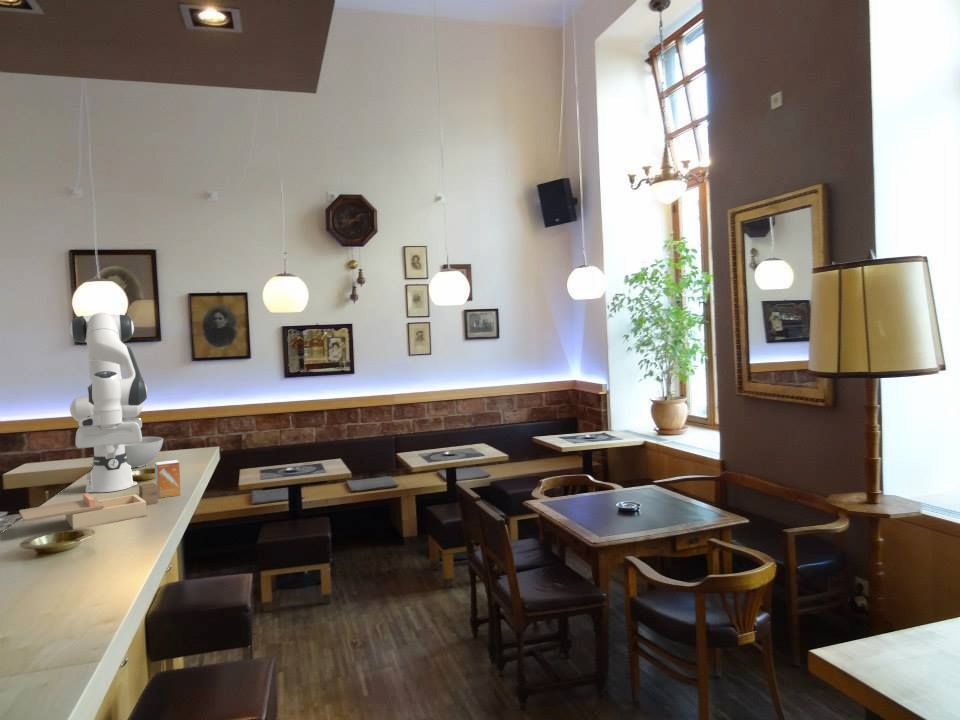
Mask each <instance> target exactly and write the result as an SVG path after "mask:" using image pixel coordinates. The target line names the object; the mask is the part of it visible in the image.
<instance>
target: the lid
mask: <svg viewBox="0 0 960 720" xmlns="http://www.w3.org/2000/svg"><path fill="white" fill-rule="evenodd" d="M98 500H99V499H97V498H96V497H94V496H93V495H91V494H90V492H89V493H86V492H85V493H82V499H79V500H78V499H77V500H75V501H74V500H73V501H68V502H61V503H60V502H59V503H55V504H54V503H53V504H50V505H49V504H48V505H42V506H37V507H31V508H25V509H24V508H23V509H19V511H18V512H19V515H20V517H21V519H22V520H23V522H24V523H25V522H26V523H27V522H32V521H37V520H43V519H44V520H45V519H49V518H54V517H60V516H66V515H67V514H73V513H79V512H84V511H90V510H96V509H102V508H104V506H103V505H102V504H101V503H100V502H99V501H98Z"/></svg>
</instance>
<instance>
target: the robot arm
mask: <svg viewBox="0 0 960 720" xmlns="http://www.w3.org/2000/svg"><path fill="white" fill-rule="evenodd" d="M134 331H135V326H134V322H133V320H132V319H131V317H130V316H129V315H125V314H110V313H106V312H96V313H94V314H93V315H85V316H84V315H80V316H75V317H74V318H72V319H71V322H70V325H69V333H70V335H71V338H72V339H73V340H74V342H76V343H81V344H83V343H84V344H85V343H86V346H87V350H88V371H89V378H90V380H91V382H92V383H91V384H89V386H87V392H88V393H87V395H83V396H79V397H75V398H74V399H73V400H72V402H71V403H70V407H69V411H70V415H71V417H72V418H73V419H74V420H75V421H76V422H78V428H77V430H76V433H75V440H74V441H75V447H76V448H78V449H85V448H87V449H88V448H93V456H92V457H93V458H92V462H93V463H92V464H93V468H91V470H90V473H87V474H86V478H87V480H89V481H88V483H86V485H85V486H86V487H85V493H89V494H90V493H108V492H109V493H110V492H117V491H122V490H126V489H130V488H132V487H133V486H137V485H138V482H137V481H134V480H133V471H132V470H133V469H131V466H130V465H129V464H127V462H126V461H127V455H126V452H125V444H132V443H140V442H141V441H142V437H143V434H142V430H141V429H142V427H143V420H142V419H141V418H140V417H138V416H139V415H140V414H141V413H142V411H143V406H144V405H143V403H144V402H145V401H146V400H148V399H147V397H148V387H147V384H146V383H145V380H144V378H143V376H142V374H141V371H140V369H139V366H138V363H137V360H136V358H135V355H134V352H133V350H132V349H131V347H130V346H129V345H127V344H125V343H124V342H127V341H130V339H131V338H132V336H133V334H134ZM121 366H122V367H123V368H124V369H125V372H126V375H127V377H128V378H123V377H122V372H121Z"/></svg>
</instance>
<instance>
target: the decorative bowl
mask: <svg viewBox="0 0 960 720" xmlns="http://www.w3.org/2000/svg"><path fill="white" fill-rule="evenodd" d="M163 443H164V438H163V437H161V436H142V441H141V442H140V443H132V444H125V452H126V455H127V461H126V462H127V464H129V465H130V466H131V468H134V469H136V468H135V467H139V466H143V465H147V464H148V465H149V463H151V461H153V460H154V459H155V458H156V457H157V456H158V454H159V453H160V451H161V449H162V447H163ZM148 465H147V466H148Z"/></svg>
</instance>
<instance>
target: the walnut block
mask: <svg viewBox="0 0 960 720" xmlns="http://www.w3.org/2000/svg"><path fill="white" fill-rule="evenodd" d="M138 491H139V492H138V493H139V494H138V496H139V497H140V498H142V499H143V500H145V501H146V505H147V506H151V505H158V504H157V503H159V498H158V495H157V485H156V482H149V483H142V484H139V485H138Z"/></svg>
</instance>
